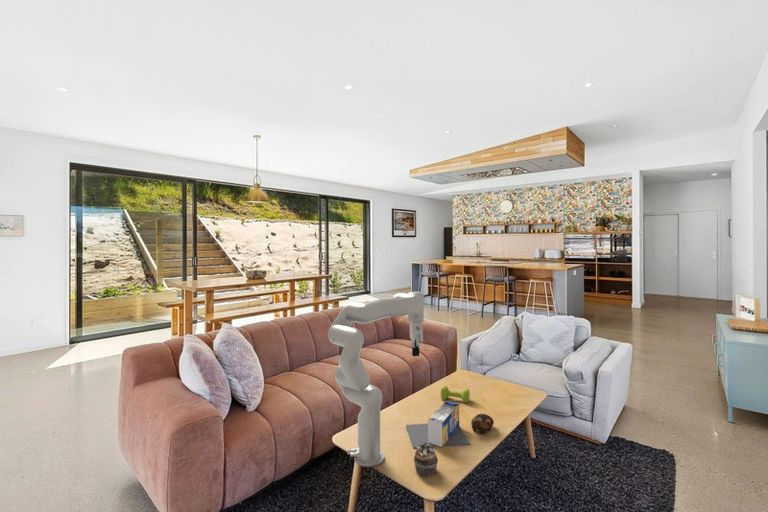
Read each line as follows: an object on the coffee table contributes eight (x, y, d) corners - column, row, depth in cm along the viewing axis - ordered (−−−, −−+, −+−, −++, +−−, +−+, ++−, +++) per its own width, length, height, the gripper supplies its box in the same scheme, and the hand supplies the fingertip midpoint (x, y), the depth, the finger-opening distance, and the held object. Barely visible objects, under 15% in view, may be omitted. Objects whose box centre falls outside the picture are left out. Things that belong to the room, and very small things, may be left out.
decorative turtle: (465, 433, 179) (465, 416, 179) (480, 424, 190) (480, 408, 190) (484, 440, 172) (484, 422, 172) (498, 429, 183) (498, 413, 183)
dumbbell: (470, 399, 216) (470, 387, 216) (468, 405, 209) (468, 392, 208) (442, 395, 222) (442, 383, 222) (439, 401, 214) (439, 388, 214)
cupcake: (408, 470, 151) (408, 446, 150) (424, 460, 157) (424, 437, 157) (427, 481, 144) (427, 456, 143) (442, 470, 150) (442, 446, 150)
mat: (413, 448, 166) (413, 447, 166) (405, 426, 186) (405, 424, 186) (470, 444, 169) (470, 443, 169) (456, 422, 189) (456, 421, 189)
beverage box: (427, 419, 169) (446, 400, 188) (427, 442, 170) (446, 422, 188) (442, 423, 166) (459, 403, 184) (442, 447, 166) (459, 425, 185)
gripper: (426, 320, 172) (426, 360, 173) (420, 314, 186) (420, 350, 187) (410, 321, 171) (410, 361, 172) (405, 314, 186) (405, 351, 187)
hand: (415, 355), depth 180 cm, fingers closed
